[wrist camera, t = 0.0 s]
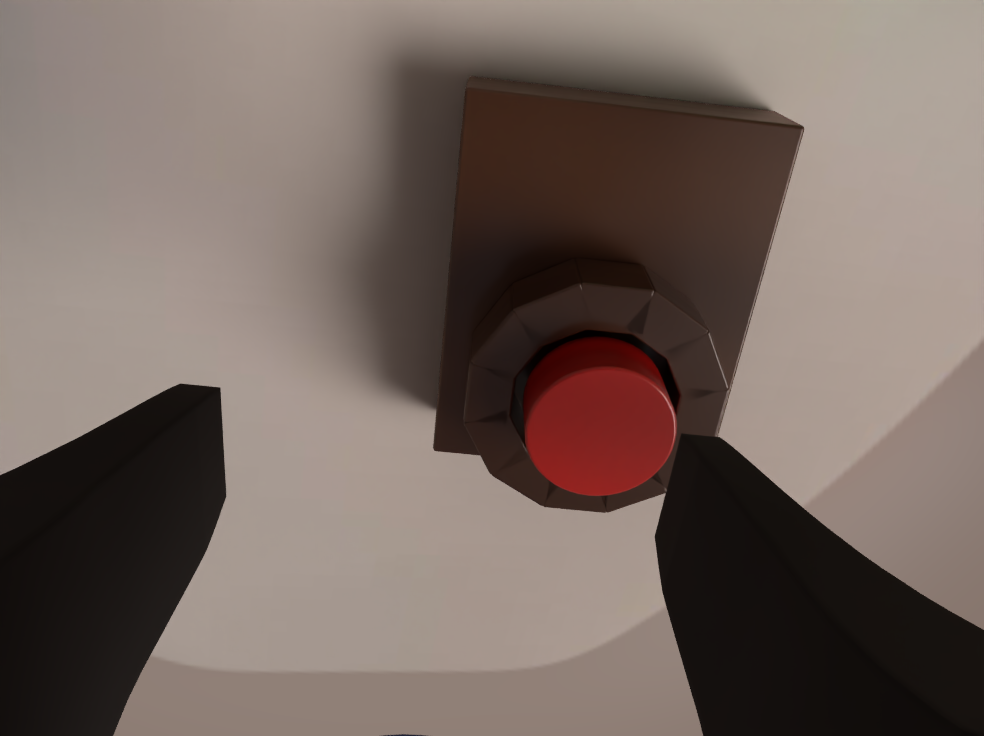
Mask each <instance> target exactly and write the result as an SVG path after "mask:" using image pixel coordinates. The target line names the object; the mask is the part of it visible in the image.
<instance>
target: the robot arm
mask: <svg viewBox="0 0 984 736" xmlns="http://www.w3.org/2000/svg"><path fill="white" fill-rule="evenodd" d="M225 498H226V483H225V465H224V447H223V429H222V411H221V392H220V388H219V387H209V386H199V385H189V384H179V385H176V386H174V387H172V388H170V389H167V390H165V391H163V392H162V393H160V394H158V395H156V396H154V397H152V398H150V399H148V400H147V401H145V402H143V403H141V404H139V405H137V406H136V407H134V408H132V409H130V410H128V411H127V412H125V413H123V414H121V415H119V416H117V417H116V418H114V419H112V420H110V421H108V422H106V423H105V424H103V425H101V426H99V427H97V428H95V429H93V430H92V431H90V432H88V433H86V434H84V435H82V436H81V437H79V438H77V439H75V440H73V441H71V442H69V443H67V444H65V445H63V446H60V447H58V448H56V449H54V450H52V451H50V452H48V453H46V454H44V455H42V456H40V457H38V458H36V459H34V460H32V461H30V462H28V463H26V464H24V465H22V466H20V467H18V468H15V469H13V470H11V471H9V472H6V473H4V474H2V475H0V736H113V734H114V732H115V729H116V727H117V725H118V722H119V719H120V717H121V715H122V712H123V710H124V707H125V705H126V703H127V700H128V698H129V696H130V694H131V692H132V690H133V688H134V686H135V683H136V682H137V680H138V678H139V675H140V673H141V671H142V670H143V668H144V666H145V664H146V662H147V660H148V658H149V657H150V655H151V653H152V651H153V649H154V647H155V646H156V644H157V642H158V640H159V638H160V636H161V634H162V633H163V631H164V629H165V627H166V625H167V623H168V622H169V620H170V618H171V616H172V614H173V612H174V611H175V609H176V607H177V605H178V603H179V601H180V599H181V598H182V596H183V594H184V592H185V590H186V588H187V586H188V585H189V583H190V581H191V579H192V577H193V575H194V573H195V571H196V570H197V568H198V566H199V564H200V562H201V560H202V558H203V556H204V554H205V552H206V550H207V548H208V545H209V542H210V540H211V537H212V535H213V532H214V529H215V527H216V524H217V521H218V518H219V515H220V512H221V510H222V507H223V504H224V501H225ZM655 541H656V549H657V557H658V565H659V572H660V578H661V585H662V591H663V595H664V599H665V603H666V606H667V610H668V613H669V617H670V620H671V624H672V627H673V631H674V634H675V638H676V641H677V645H678V648H679V652H680V655H681V658H682V662H683V665H684V669H685V672H686V675H687V679H688V682H689V686H690V689H691V692H692V696H693V699H694V702H695V706H696V709H697V713H698V717H699V720H700V724H701V728H702V732H703V736H984V630H983V629H981V628H979V627H977V626H975V625H974V624H972V623H970V622H968V621H967V620H965V619H963V618H961V617H959V616H958V615H956V614H954V613H952V612H950V611H948V610H947V609H945V608H944V607H942V606H940V605H939V604H937V603H935V602H934V601H932V600H930V599H928V598H927V597H925V596H924V595H922V594H920V593H919V592H917V591H916V590H914V589H913V588H911V587H910V586H908V585H906V584H905V583H904V582H902V581H901V580H899V579H898V578H896V577H894V576H893V575H891V574H890V573H888V572H887V571H885V570H884V569H882V568H881V567H879V566H878V565H877V564H875V563H874V562H872V561H871V560H869V559H868V558H867V557H865V556H864V555H862V554H861V553H860V552H858V551H857V550H855V549H854V548H853V547H852V546H850V545H849V544H848V543H846V542H845V541H844V540H843V539H841V538H840V537H839V536H837V535H836V534H835V533H833V532H832V531H831V530H829V529H828V528H827V527H826V526H824V525H823V524H822V523H821V522H820V521H818V520H817V519H816V518H815V517H813V516H812V515H811V514H809V513H808V512H807V511H806V510H805V509H804V508H802V507H801V506H800V505H799V504H798V503H797V502H795V501H794V500H793V499H792V498H791V497H790V496H788V495H787V494H786V493H785V492H784V491H783V490H781V489H780V488H779V487H778V486H777V485H776V484H775V483H773V482H772V481H771V480H770V479H769V478H768V477H767V476H765V475H764V474H763V473H762V472H761V471H760V470H759V469H757V468H756V467H755V466H754V465H753V464H752V463H751V462H749V461H748V460H747V459H746V458H745V457H744V456H743V455H741V454H740V453H739V452H738V451H737V450H735V449H734V448H733V447H732V446H731V445H729V444H728V443H727V442H725V441H724V440H723V439H721V438H720V437H713V436H703V435H692V434H682V433H681V436H680V440H679V444H678V448H677V452H676V456H675V460H674V464H673V468H672V472H671V475H670V479H669V483H668V487H667V491H666V495H665V499H664V503H663V507H662V510H661V514H660V518H659V522H658V526H657V530H656V534H655Z"/></svg>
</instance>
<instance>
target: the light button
mask: <svg viewBox="0 0 984 736" xmlns="http://www.w3.org/2000/svg"><path fill="white" fill-rule="evenodd" d="M523 414H524V433H525V444H526V448H527V452H528V454H529V456H530V459H531V460H532V462H533V464H534V465H535V467H536V468H537V469H538V471H539V472H540V473H541V474H542V475H543V476H544V477H545V478H547V479H548V480H549V481H551V482H552V483H553V484H555V485H557V486H559V487H560V488H562V489H565V490H567V491H570V492H573V493H577V494H582V495H588V496H604V495H612V494H617V493H621V492H624V491H627V490H630V489H632V488H635V487H636V486H638V485H640V484H642V483H644V482H645V481H647V480H648V479H649V478H651V477H652V476H653V475H654V474H655V473H656V472H657V471H658V470H659V469H660V468H661V467H662V466H663V465H664V463H665V462H666V460H667V459H668V457H669V455H670V453H671V451H672V449H673V446H674V443H675V439H676V434H677V420H676V414H675V411H674V407H673V405H672V402H671V400H670V397H669V394H668V392H667V389H666V387H665V384H664V382H663V379H662V377H661V374H660V372H659V370H658V368H657V367H656V365H655V364H654V362H653V361H652V360H651V359H650V358H649V357H648V355H646V354H645V353H644V352H643V351H642V350H640V349H639V348H637V347H635V346H634V345H632V344H630V343H627V342H625V341H622V340H619V339H615V338H610V337H599V336H594V337H584V338H579V339H575V340H572V341H569V342H567V343H564V344H562V345H560V346H558V347H557V348H555V349H553V350H552V351H550V352H549V353H548V354H547V355H545V356H544V357H543V358H542V359H541V360H540V361H539V362H538V363H537V365H536V366H535V367H534V369H533V370H532V372H531V374H530V375H529V377H528V380H527V382H526V385H525V389H524V393H523Z"/></svg>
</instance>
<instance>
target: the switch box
mask: <svg viewBox="0 0 984 736" xmlns="http://www.w3.org/2000/svg"><path fill="white" fill-rule="evenodd" d="M803 132H804V127H803V126H802V125H800V124H798V123H796V122H794V121H792V120H790V119H788V118H786V117H784V116H783V115H781V114H779V113H777V112H775V111H767V110H759V109H750V108H742V107H733V106H724V105H716V104H707V103H699V102H690V101H682V100H673V99H665V98H656V97H647V96H639V95H630V94H622V93H613V92H605V91H596V90H587V89H579V88H570V87H562V86H553V85H545V84H536V83H528V82H519V81H510V80H502V79H493V78H485V77H476V76H470V77H469V79H468V82H467V85H466V89H465V96H464V107H463V118H462V129H461V141H460V152H459V163H458V174H457V186H456V197H455V208H454V219H453V231H452V242H451V253H450V264H449V276H448V287H447V298H446V309H445V321H444V332H443V343H442V354H441V366H440V377H439V388H438V399H437V411H436V422H435V433H434V444H433V449H434V450H435V451H441V452H451V453H461V454H471V455H480V456H481V457H482V459H483V461H484V463H485V465H486V467H487V469H488V471H489V473H490V474H492V475H493V476H494V477H495V478H497V479H499V480H500V481H502V482H504V483H505V484H507V485H508V486H510V487H512V488H513V489H515V490H517V491H518V492H520V493H521V494H523V495H525V496H526V497H528V498H530V499H531V500H533V501H535V502H536V503H538V504H539V505H541V506H544V507H550V508H561V509H571V510H582V511H593V512H603V513H605V512H611V511H614V510H617V509H619V508H622V507H625V506H628V505H631V504H634V503H637V502H640V501H643V500H646V499H649V498H652V497H655V496H658V495H661V494H664V493H666V491H667V487H668V483H669V479H670V475H671V472H672V468H673V464H674V460H675V456H676V452H677V448H678V444H679V440H680V436H681V433H682V434H692V435H703V436H713V437H718V433H719V430H720V426H721V423H722V419H723V415H724V412H725V408H726V405H727V401H728V398H729V394H730V391H731V387H732V384H733V380H734V376H735V373H736V369H737V366H738V362H739V359H740V355H741V352H742V348H743V345H744V341H745V337H746V334H747V330H748V327H749V323H750V320H751V316H752V313H753V309H754V306H755V302H756V298H757V295H758V291H759V288H760V284H761V281H762V277H763V274H764V270H765V267H766V263H767V259H768V256H769V252H770V249H771V245H772V242H773V238H774V235H775V231H776V228H777V224H778V220H779V217H780V213H781V210H782V206H783V203H784V199H785V196H786V192H787V189H788V185H789V181H790V178H791V174H792V171H793V167H794V164H795V160H796V157H797V153H798V150H799V146H800V142H801V139H802V135H803ZM594 336H599V337H610V338H615V339H619V340H622V341H625V342H627V343H630V344H632V345H634V346H635V347H637V348H639V349H640V350H642V351H643V352H644V353H645V354H646V355H648V357H649V358H650V359H651V360H652V361H653V362H654V364H655V365H656V367H657V368H658V370H659V372H660V374H661V377H662V379H663V382H664V384H665V387H666V389H667V392H668V394H669V397H670V400H671V402H672V405H673V407H674V411H675V414H676V420H677V434H676V439H675V443H674V446H673V449H672V451H671V453H670V455H669V457H668V459H667V460H666V462H665V463H664V465H663V466H662V467H661V468H660V469H659V470H658V471H657V472H656V473H655V474H654V475H653V476H652V477H651V478H649V479H648V480H647V481H645V482H644V483H642V484H640V485H638V486H636V487H635V488H632V489H630V490H627V491H624V492H621V493H617V494H612V495H604V496H588V495H582V494H577V493H573V492H570V491H567V490H565V489H562V488H560V487H559V486H557V485H555V484H553V483H552V482H551V481H549V480H548V479H547V478H545V477H544V476H543V475H542V474H541V473H540V472H539V471H538V469H537V468H536V467H535V465H534V464H533V462H532V460H531V459H530V456H529V454H528V452H527V448H526V444H525V433H524V414H523V393H524V389H525V385H526V382H527V380H528V377H529V375H530V374H531V372H532V370H533V369H534V367H535V366H536V365H537V363H538V362H539V361H540V360H541V359H542V358H543V357H544V356H545V355H547V354H548V353H549V352H550V351H552V350H553V349H555V348H557V347H558V346H560V345H562V344H564V343H567V342H569V341H572V340H575V339H579V338H584V337H594Z"/></svg>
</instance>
